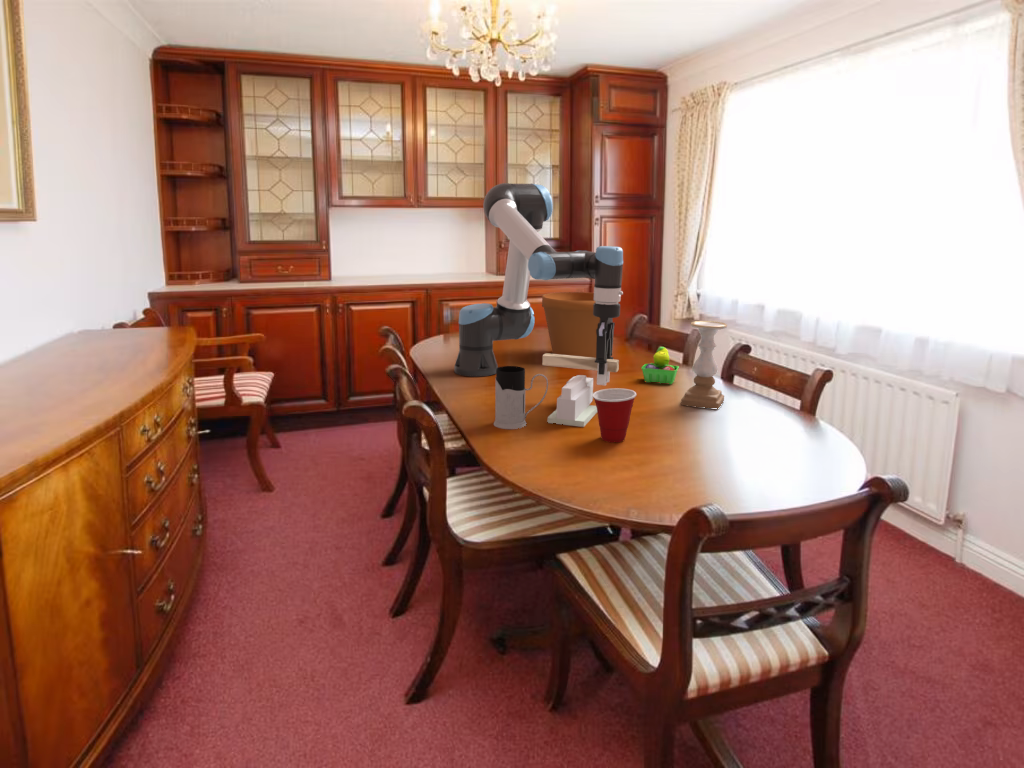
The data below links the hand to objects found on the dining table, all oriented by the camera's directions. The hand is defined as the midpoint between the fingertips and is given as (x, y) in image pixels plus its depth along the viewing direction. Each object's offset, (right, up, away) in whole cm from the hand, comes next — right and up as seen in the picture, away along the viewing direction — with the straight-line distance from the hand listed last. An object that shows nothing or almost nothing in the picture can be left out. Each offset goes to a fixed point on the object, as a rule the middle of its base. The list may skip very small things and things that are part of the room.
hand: (602, 383), depth 200 cm
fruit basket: (+23, 0, +32) cm, 39 cm away
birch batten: (-7, +4, +1) cm, 8 cm away
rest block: (-7, -6, +4) cm, 10 cm away
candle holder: (+30, -6, +5) cm, 31 cm away
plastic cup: (-1, -14, -28) cm, 31 cm away
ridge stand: (-9, -9, -10) cm, 16 cm away
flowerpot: (-1, +10, +69) cm, 70 cm away
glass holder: (-24, -11, -17) cm, 31 cm away
